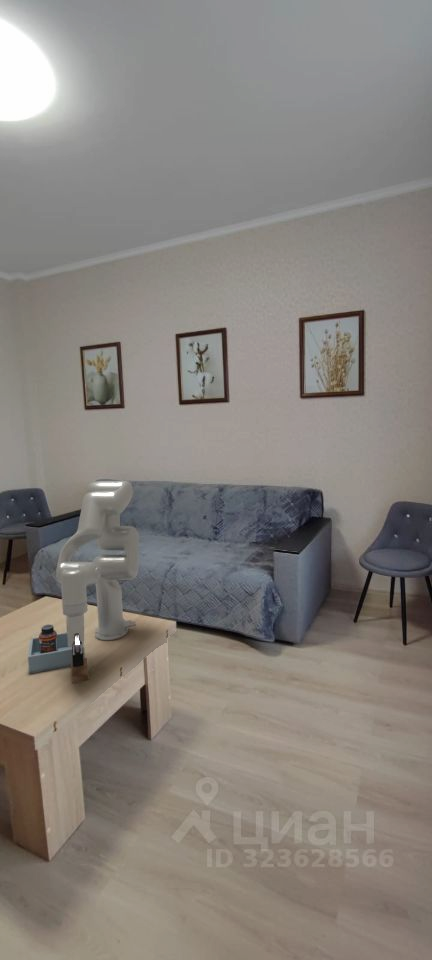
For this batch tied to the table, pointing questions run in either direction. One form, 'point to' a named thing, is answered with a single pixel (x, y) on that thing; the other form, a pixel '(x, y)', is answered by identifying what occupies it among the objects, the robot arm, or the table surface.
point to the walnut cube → (79, 672)
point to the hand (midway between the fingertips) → (77, 659)
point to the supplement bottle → (48, 639)
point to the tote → (50, 655)
